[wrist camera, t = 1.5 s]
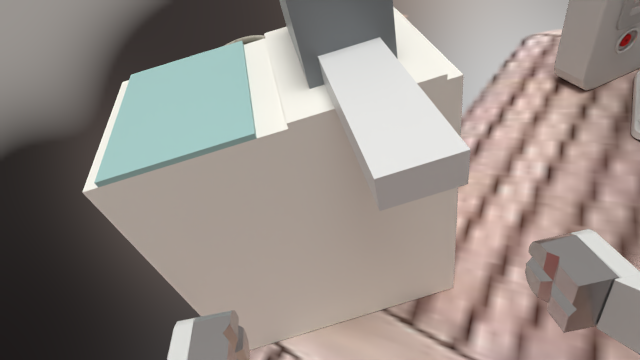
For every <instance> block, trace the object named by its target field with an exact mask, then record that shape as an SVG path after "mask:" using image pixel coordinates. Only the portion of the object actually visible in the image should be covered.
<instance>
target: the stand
mask: <svg viewBox="0 0 640 360" xmlns="http://www.w3.org/2000/svg"><path fill="white" fill-rule="evenodd" d="M393 10H394V22H395V34H396V46H397V58H398V60H399V62H400V63H401V64H402V65H403V67H404V68H405V69H406V70H407V72H408V73H409V74H410V75H411V76H412V78H413V79H414V80H415V81H416V83H417V84H418V85H419V86H420V88H421V89H422V90H423V91H424V93H425V94H426V95H427V96H428V98H429V99H430V100H431V101H432V103H433V104H434V105H435V106H436V107H437V109H438V110H439V111H440V112H441V114H442V115H443V116H444V117H445V119H446V120H447V121H448V122H449V124H450V125H451V126H452V127H453V129H454V130H455V131H456V132H457V134H458V135H459V136H460V137H461V116H462V94H463V74H462V73H461V72H460V71H459V70H458V69H457V68H456V67H455V66H454V65H453V64H452V63H451V62H450V61H449V60H448V59H447V58H446V57H445V56H444V55H443V54H442V53H441V52H440V51H438V50H437V49H436V48H435V47H434V46H433V45H432V44H431V43H430V42H429V41H428V40H427V39H426V38H425V37H424V36H423V35H422V34H421V33H420V32H419V31H418V30H417V29H416V28H415V27H414V26H413V25H412V24H411V23H410V22H409V21H408V20H407V19H406V18H405V17H404V16H403V15H402V14H401V13H400V12H399V11H398V10H396V9H395V8H394V7H393ZM83 193H84V194H85V195H86V197H88V198H89V200H90V201H91V202H92V203H93V204H94V205H95V206H96V207H97V208H98V209H99V210H100V211H101V212H102V213H103V214H104V215H105V216H106V217H107V218H108V220H109V221H110V222H111V223H112V224H113V225H114V226H115V227H116V228H117V229H118V230H119V231H120V232H121V233H122V234H123V235H124V236H125V237H126V238H127V239H128V240H129V241H130V243H131V244H132V245H133V246H134V247H135V248H136V249H137V250H138V251H139V252H140V253H141V254H142V255H143V256H144V257H145V258H146V259H147V260H148V261H149V262H150V263H151V264H152V266H153V267H154V268H155V269H156V270H157V271H158V272H159V273H160V274H161V275H162V276H163V277H164V278H165V279H166V280H167V281H168V282H169V283H170V284H171V285H172V286H173V287H174V288H175V290H176V291H177V292H178V293H179V294H180V295H181V296H182V297H183V298H184V299H185V300H186V301H187V302H188V303H189V304H190V305H191V306H192V307H193V308H194V309H195V310H196V312H198V314H199V315H200V316H206V315H211V314H216V313H221V312H227V311H232V310H235V311H236V313H237V315H238V317H239V324H238V325H239V326H241V327H243V328H244V330H245V332H246V335H247V338H248V343H249V350H252V349H255V348H259V347H262V346H265V345H268V344H272V343H275V342H278V341H281V340H285V339H288V338H291V337H294V336H298V335H301V334H304V333H307V332H311V331H314V330H317V329H321V328H324V327H327V326H330V325H334V324H337V323H340V322H343V321H347V320H350V319H353V318H356V317H360V316H363V315H366V314H369V313H373V312H376V311H379V310H383V309H386V308H389V307H392V306H396V305H399V304H402V303H405V302H409V301H412V300H415V299H418V298H422V297H425V296H428V295H431V294H435V293H438V292H441V291H444V290H448V289H451V288H453V287H454V266H455V244H456V223H457V201H458V187H457V188H453V189H450V190H447V191H444V192H440V193H437V194H434V195H431V196H427V197H424V198H421V199H418V200H414V201H411V202H408V203H405V204H401V205H398V206H395V207H392V208H388V209H385V210H382V211H379V209H378V206H377V204H376V202H375V199H374V197H373V195H372V193H371V190H370V188H369V186H368V183H367V181H366V179H365V176H364V174H363V172H362V170H361V167H360V165H359V163H358V160H357V158H356V156H355V154H354V151H353V149H352V147H351V144H350V142H349V140H348V137H347V135H346V133H345V131H344V128H343V126H342V124H341V121H340V119H339V117H338V115H337V112H336V110H335V108H334V105H333V103H332V101H331V98H330V96H329V94H328V92H327V89H326V87H325V85H321V86H318V87H315V88H311V89H310V88H309V86H308V83H307V80H306V78H305V75H304V72H303V70H302V67H301V64H300V61H299V59H298V56H297V53H296V51H295V48H294V45H293V43H292V40H291V37H290V35H289V32H288V29H287V27H284V28H281V29H278V30H274V31H271V32H268V33H265V38H264V39H261V40H258V41H255V42H251V43H248V44H245V45H244V44H243V42H242V41H239V42H236V43H232V44H229V45H226V46H223V47H220V48H216V49H213V50H210V51H207V52H204V53H200V54H197V55H194V56H191V57H187V58H184V59H181V60H177V61H174V62H171V63H168V64H165V65H161V66H158V67H155V68H152V69H149V70H145V71H142V72H139V73H135V74H132V75H131V77H130V79H129V80H128V81H125V82H123V83H122V86H121V89H120V91H119V94H118V96H117V99H116V102H115V105H114V107H113V111H112V113H111V116H110V118H109V122H108V124H107V127H106V129H105V132H104V135H103V138H102V140H101V143H100V146H99V149H98V151H97V154H96V157H95V159H94V162H93V165H92V168H91V170H90V173H89V176H88V179H87V181H86V184H85V187H84V189H83Z"/></svg>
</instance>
